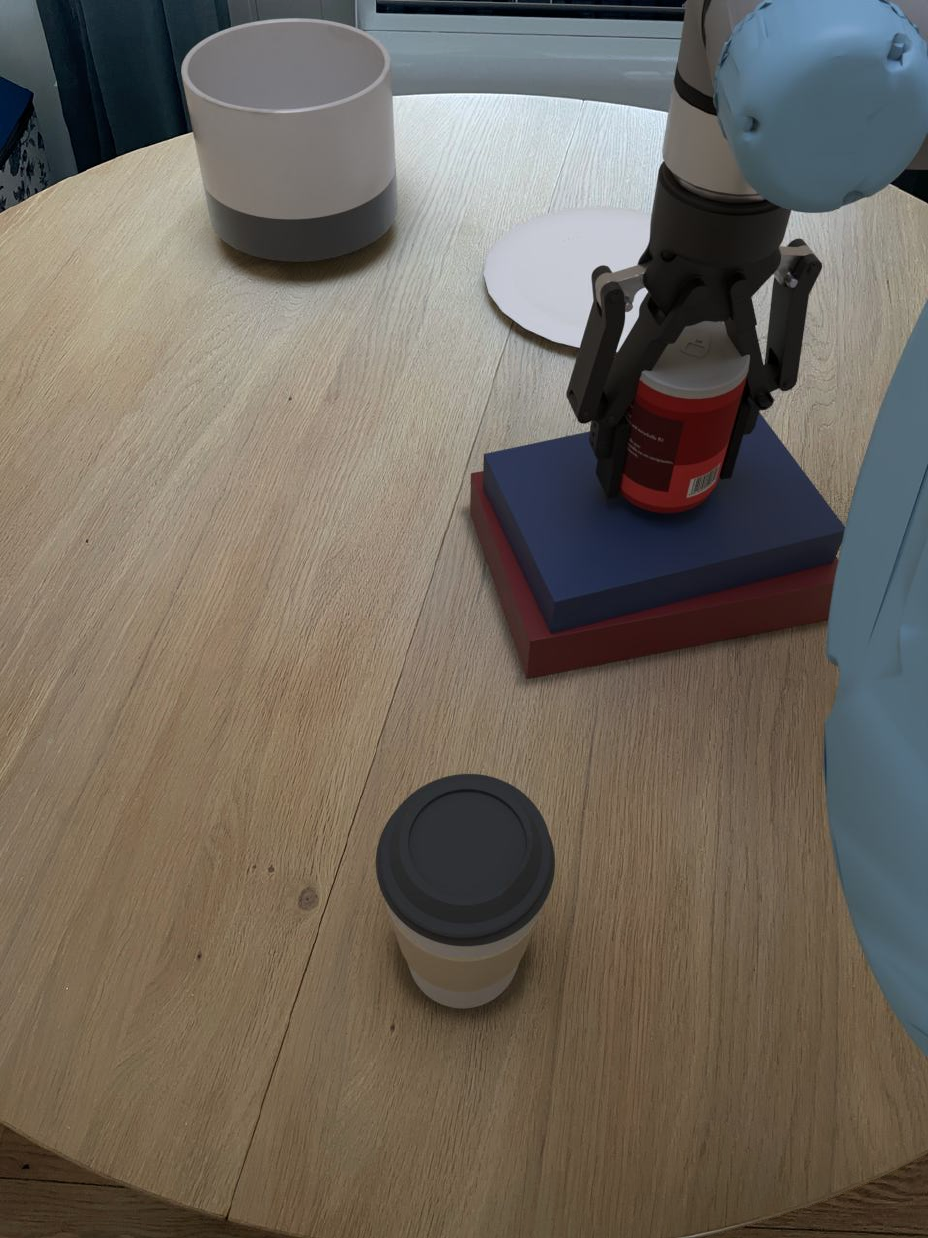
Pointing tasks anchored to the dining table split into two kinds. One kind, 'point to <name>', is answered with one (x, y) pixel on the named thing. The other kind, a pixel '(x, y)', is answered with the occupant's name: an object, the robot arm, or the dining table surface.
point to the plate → (564, 268)
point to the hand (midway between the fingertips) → (663, 475)
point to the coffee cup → (465, 884)
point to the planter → (294, 136)
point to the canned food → (683, 420)
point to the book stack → (649, 554)
